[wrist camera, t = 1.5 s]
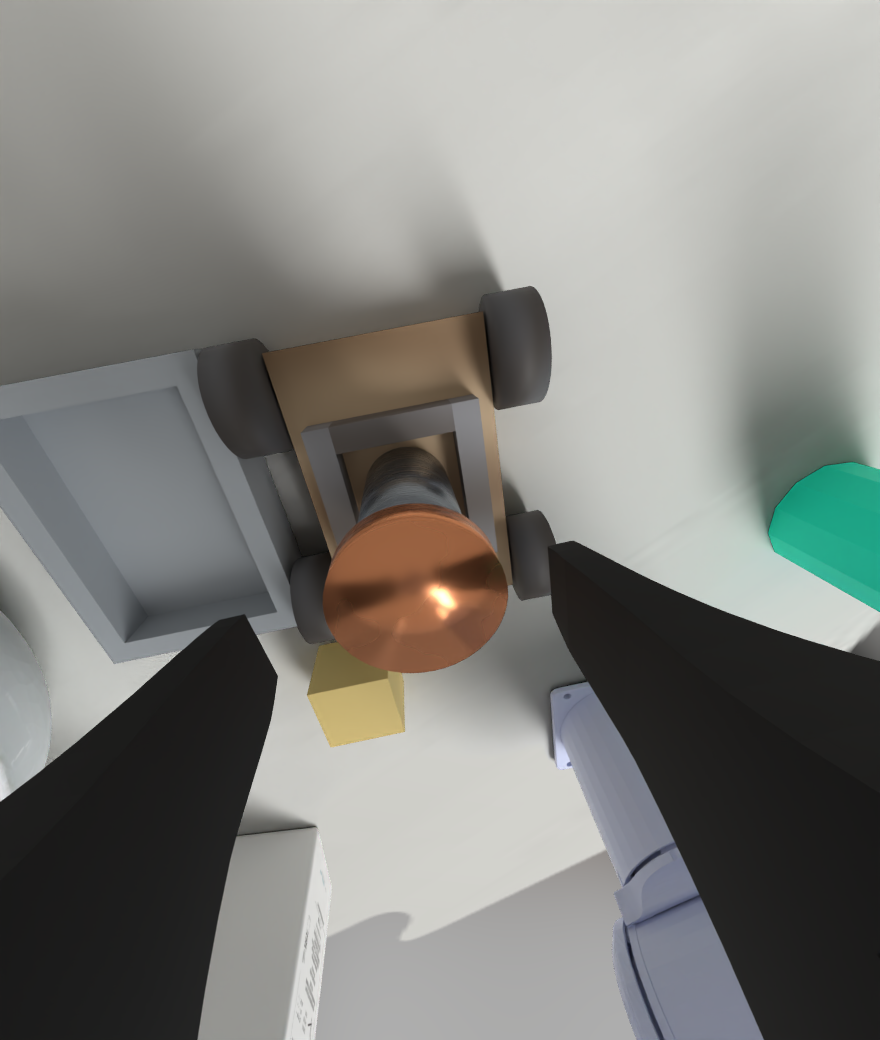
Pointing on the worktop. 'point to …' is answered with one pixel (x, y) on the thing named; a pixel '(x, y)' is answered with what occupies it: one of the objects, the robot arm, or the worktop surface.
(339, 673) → the yellow cube
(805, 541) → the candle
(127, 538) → the tray
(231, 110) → the worktop surface
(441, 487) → the pin
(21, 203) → the worktop surface
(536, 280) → the worktop surface
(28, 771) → the serving bowl
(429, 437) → the trolley
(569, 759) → the robot arm
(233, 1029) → the tall white carton
